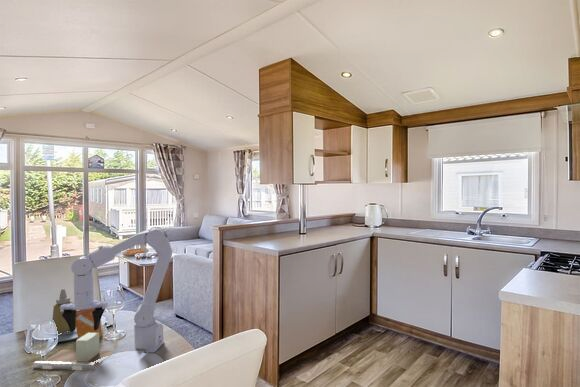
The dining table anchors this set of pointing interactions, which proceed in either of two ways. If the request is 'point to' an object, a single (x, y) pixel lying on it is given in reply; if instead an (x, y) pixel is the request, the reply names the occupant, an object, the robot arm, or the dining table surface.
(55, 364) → the shelf board
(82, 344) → the carton
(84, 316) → the small box
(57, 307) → the squeeze bottle
